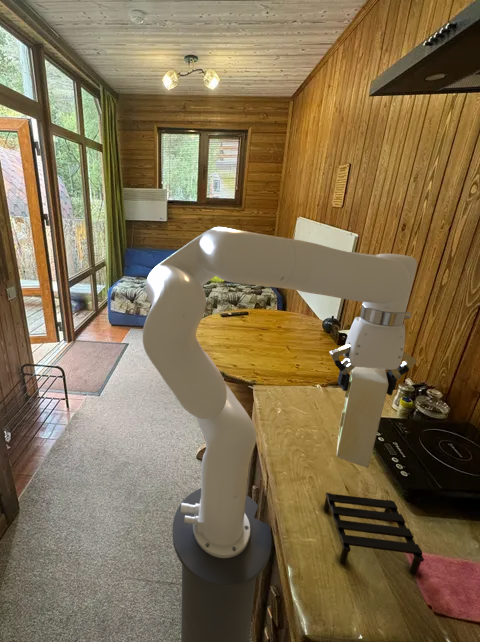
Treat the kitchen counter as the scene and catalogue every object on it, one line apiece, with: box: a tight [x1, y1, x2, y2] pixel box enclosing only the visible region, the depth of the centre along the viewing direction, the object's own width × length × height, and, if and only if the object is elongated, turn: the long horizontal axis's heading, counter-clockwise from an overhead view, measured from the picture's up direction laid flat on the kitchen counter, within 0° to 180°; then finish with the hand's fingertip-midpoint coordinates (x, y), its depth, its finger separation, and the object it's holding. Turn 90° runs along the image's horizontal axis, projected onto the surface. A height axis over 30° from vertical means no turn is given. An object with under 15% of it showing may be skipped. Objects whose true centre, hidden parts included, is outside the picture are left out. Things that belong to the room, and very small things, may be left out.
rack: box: [323, 492, 425, 576], centre depth 63 cm, size 14×12×5 cm
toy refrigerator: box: [336, 367, 388, 468], centre depth 69 cm, size 8×7×21 cm
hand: (364, 389), depth 67 cm, fingers closed on toy refrigerator, 8 cm apart
